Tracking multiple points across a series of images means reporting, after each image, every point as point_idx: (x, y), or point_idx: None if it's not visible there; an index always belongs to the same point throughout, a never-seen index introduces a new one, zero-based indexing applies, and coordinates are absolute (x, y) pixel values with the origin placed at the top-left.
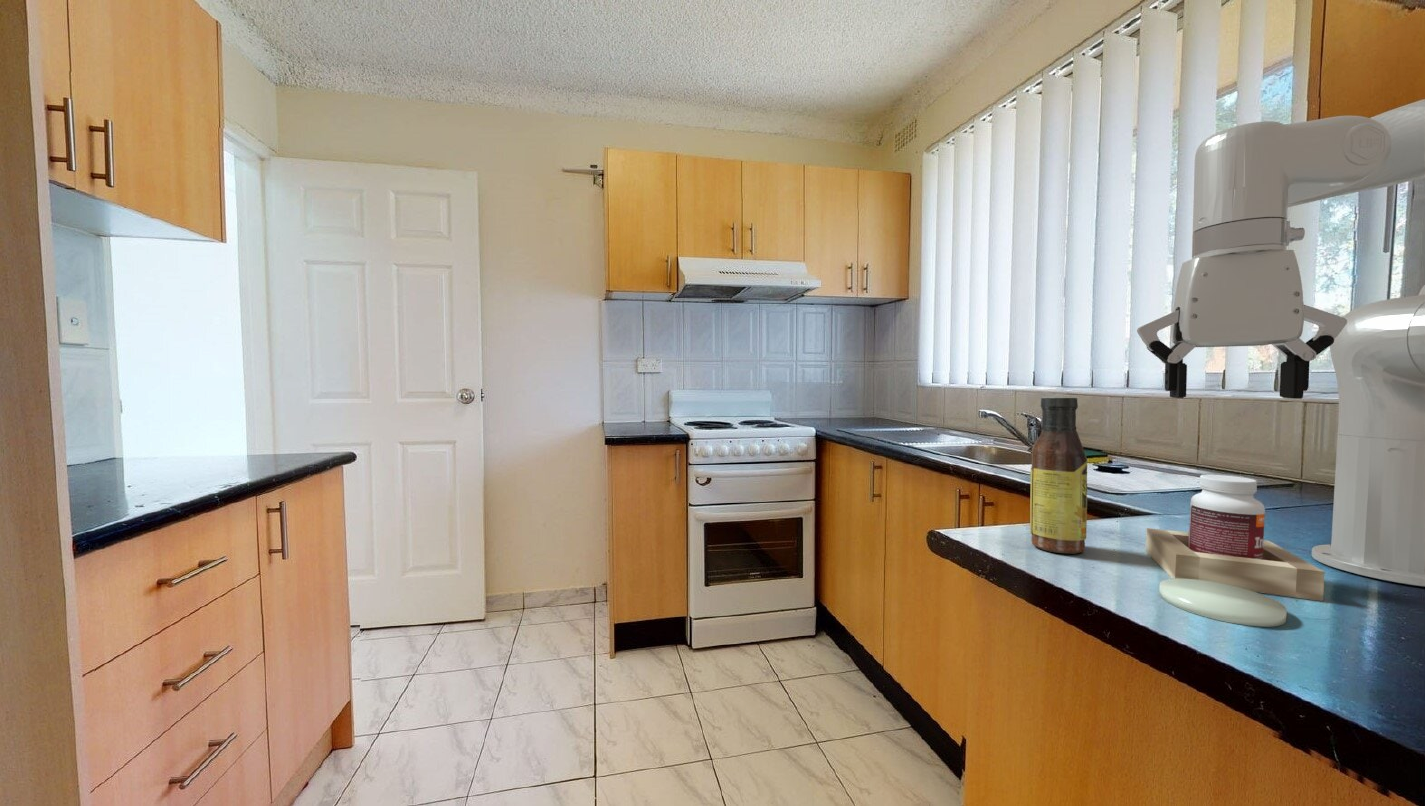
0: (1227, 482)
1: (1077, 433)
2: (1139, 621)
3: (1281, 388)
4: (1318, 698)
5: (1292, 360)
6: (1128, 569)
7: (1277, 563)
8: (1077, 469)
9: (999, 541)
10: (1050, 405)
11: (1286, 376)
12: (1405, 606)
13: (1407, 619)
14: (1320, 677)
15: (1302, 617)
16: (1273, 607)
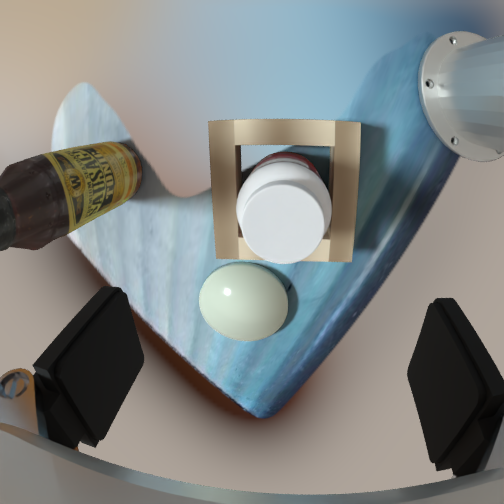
0: (270, 260)
1: (22, 218)
2: (182, 351)
3: (436, 330)
4: (249, 404)
5: (455, 453)
6: (184, 221)
7: (317, 249)
8: (68, 232)
9: None
10: None
11: (440, 389)
12: (413, 229)
13: (389, 268)
14: (261, 388)
15: (302, 301)
16: (276, 319)
